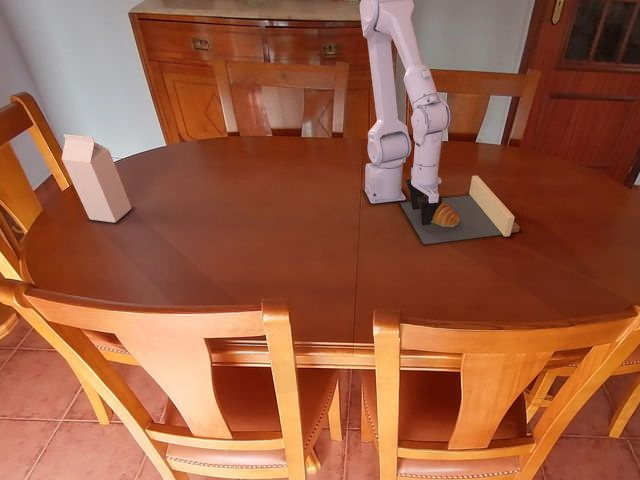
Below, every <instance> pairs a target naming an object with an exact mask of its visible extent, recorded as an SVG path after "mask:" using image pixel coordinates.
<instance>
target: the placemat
mask: <svg viewBox="0 0 640 480" xmlns="http://www.w3.org/2000/svg"><path fill="white" fill-rule="evenodd" d="M441 198H442V197H441ZM442 201H443V202H444V203H445V204H448V205H449V206H450V207H451V208H453V209H454V211H455V212H457V215H458V216H459V217H460V221H459V222H458V224H457V225H455V226H454V227H443V226H440V225H437V224H435V223H432V222H431V224H430V225H422V224H421V212H420V209H416V210H413V209H412V205H411V201H406V202H400V203H399V204H400V206H401V208H402V209H403V211H404V213H405V215H406V216H407V218H408V219H409V222H410V223H411V225H412V227H413V228H414V231H416V234H417V235H418V237H419V238H420V240H421V243H422V245H432V244H438V243H439V244H440V243H447V242H453V241H454V242H455V241H462V240H471V239H478V238H479V239H480V238H487V237H494V236H495V237H496V236H501V235H502V236H503V234H502V233H501V232H500V231H499V230H498V228H497V227H496V226H495V225H494V223H493V222H492V221H491V220H490V219H489V217H488V216H487V215H486V214H485V212H484V211H483V210H482V209H481V208H480V206H479V205H478V204H477V203H476V201H475V200H474V199H473V198H472V197H471V195H470V194H469V195H460V196H453V197H452V196H451V197H443V198H442Z"/></svg>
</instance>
